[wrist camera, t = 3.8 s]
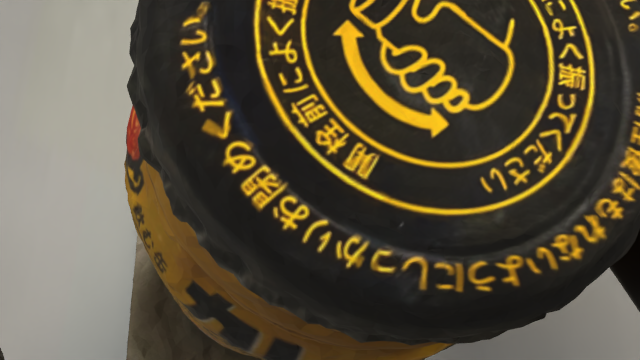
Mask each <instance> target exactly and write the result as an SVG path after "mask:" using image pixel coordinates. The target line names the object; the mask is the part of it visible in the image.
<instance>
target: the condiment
mask: <svg viewBox="0 0 640 360" xmlns="http://www.w3.org/2000/svg"><path fill="white" fill-rule="evenodd" d="M130 30H131V43H130V53H129V54H130V56H131V59H132V61H133V63H134V68H133V71H132V74H131V76H130V78H129V81H128V84H127V88H128V92H129V95H130V98H131V101H132V104H133V106H132V110H131V114H130V118H129V122H128V126H127V135H126V144H127V154H126V160H125V163H124V165H125V171H126V173H125V184H126V189H127V193H128V203H129V206H130V209H131V214H132V217H133V221H134V224H135V228H136V230H137V233H138V236H137V245H136V259H135V269H134V278H133V290H132V299H131V309H130V313H131V315H130V324H129V336H128V348H127V359H126V360H423V359H425V358H427V357H430V356H432V355H434V354H436V353H438V352H440V351H441V350H445V349H447V348H449V347H451V346H453V345H454V344H456V343H472V342H476V341H480V340H487V339H491V338H494V337H496V336H498V335H500V334H502V333H504V332H505V331H507V330H510V329H515V328H520V327H523V326H525V325H528V324H530V323H532V322H534V321H537V320H540V319H543V318H545V316H546V313H549V312H553V311H557V310H560V309H561V308H563V307H564V306H565V305H567V304H568V303H570V302H571V301H572V300H574V299H575V298H576V297H577V296H578V295H579V294H580V293H581V292H582V291H583V290H584V289H585V288H586V287H587V286H588V285H590V284H591V283H592V282H593V281H594V280H596V279H597V278H598V277H599V276H600V275H601V274H602V273H604V272H605V271H606V270H607V269H608V268H609V267H610V266H612V265H613V264H614V263H616V262H617V261H618V260H620V259H621V258H622V257H623V256H624V255H625V254H626V253H627V252H628V250H629V249H630V248H631V246H632V245H633V243H634V242H635V240H636V237H637V235H638V232H639V229H640V0H139V3H138V7H137V11H136V17H135V20H134V22H133V24H132V26H131V28H130Z"/></svg>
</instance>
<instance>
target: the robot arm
mask: <svg viewBox="0 0 640 360" xmlns="http://www.w3.org/2000/svg"><path fill="white" fill-rule="evenodd" d="M610 269H611V270H612V272H613V273H614V275H615V276H616V278H617V279H618V281H619V282H620V283H621V285H622V286H623V288H624V289H625V291H626V292H627V294H628V295H629V297H630V298H631V300H632V301H633V303H634V304H635V306H636V307H637V309H638V310H639V312H640V229H639V232H638V235H637V237H636V240H635V242H634V243H633V245H632V246H631V248H630V249H629V250H628V252H627V253H626V254H625V255H624V256H623V257H622V258H621V259H620V260H618V261H617V262H616V263H614V264H613V265H612V266H610ZM0 360H4V356H3V353H2V351H1V348H0Z"/></svg>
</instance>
